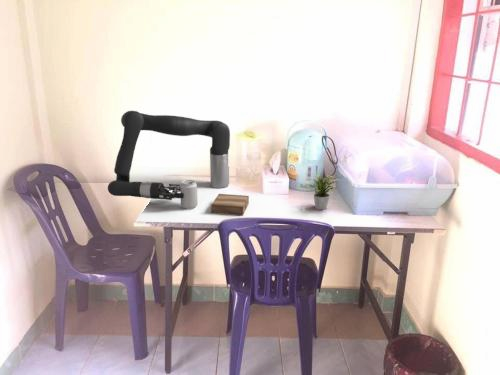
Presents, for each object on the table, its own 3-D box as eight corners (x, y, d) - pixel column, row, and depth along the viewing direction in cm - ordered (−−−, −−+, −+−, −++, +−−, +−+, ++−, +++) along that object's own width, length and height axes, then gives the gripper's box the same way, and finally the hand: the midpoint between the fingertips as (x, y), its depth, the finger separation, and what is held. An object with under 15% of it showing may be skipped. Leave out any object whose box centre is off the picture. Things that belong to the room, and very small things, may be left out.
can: (194, 210, 193) (193, 184, 189) (178, 208, 194) (177, 183, 190) (199, 204, 200) (199, 179, 196) (184, 203, 201) (183, 178, 197)
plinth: (219, 201, 203) (219, 193, 202) (248, 204, 201) (248, 195, 199) (211, 212, 190) (211, 204, 189) (242, 215, 188) (242, 206, 186)
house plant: (330, 217, 187) (333, 181, 182) (300, 210, 193) (302, 175, 188) (340, 206, 199) (343, 172, 194) (312, 201, 205) (314, 168, 200)
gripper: (145, 187, 190) (181, 189, 187) (157, 177, 203) (191, 179, 200) (146, 203, 192) (181, 206, 189) (158, 192, 205) (191, 195, 203)
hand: (186, 192), depth 195 cm, fingers open, 8 cm apart
